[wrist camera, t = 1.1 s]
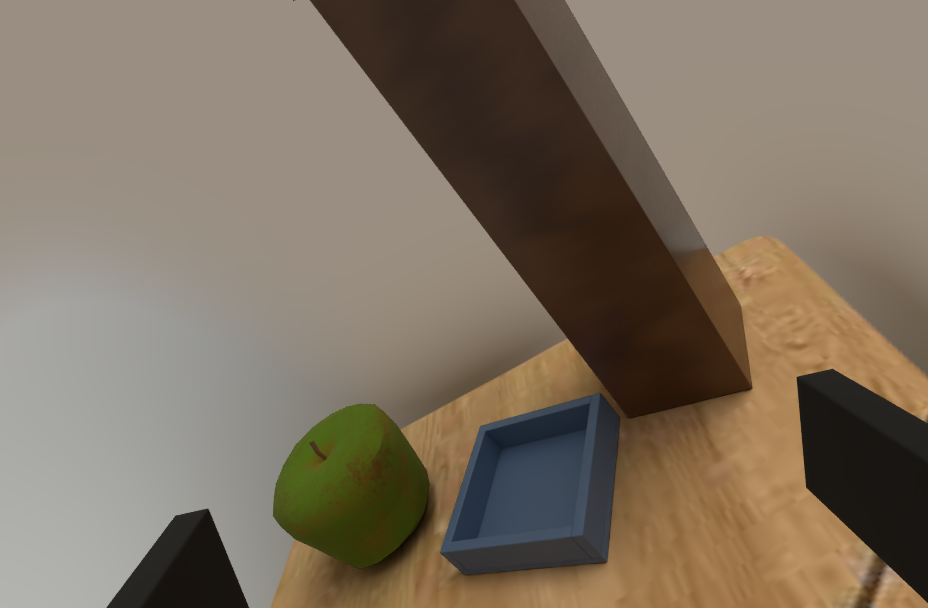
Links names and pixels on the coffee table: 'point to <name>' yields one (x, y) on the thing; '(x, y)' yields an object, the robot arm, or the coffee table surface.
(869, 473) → the robot arm
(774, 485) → the coffee table surface
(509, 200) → the stand
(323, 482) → the apple
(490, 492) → the blue tray
